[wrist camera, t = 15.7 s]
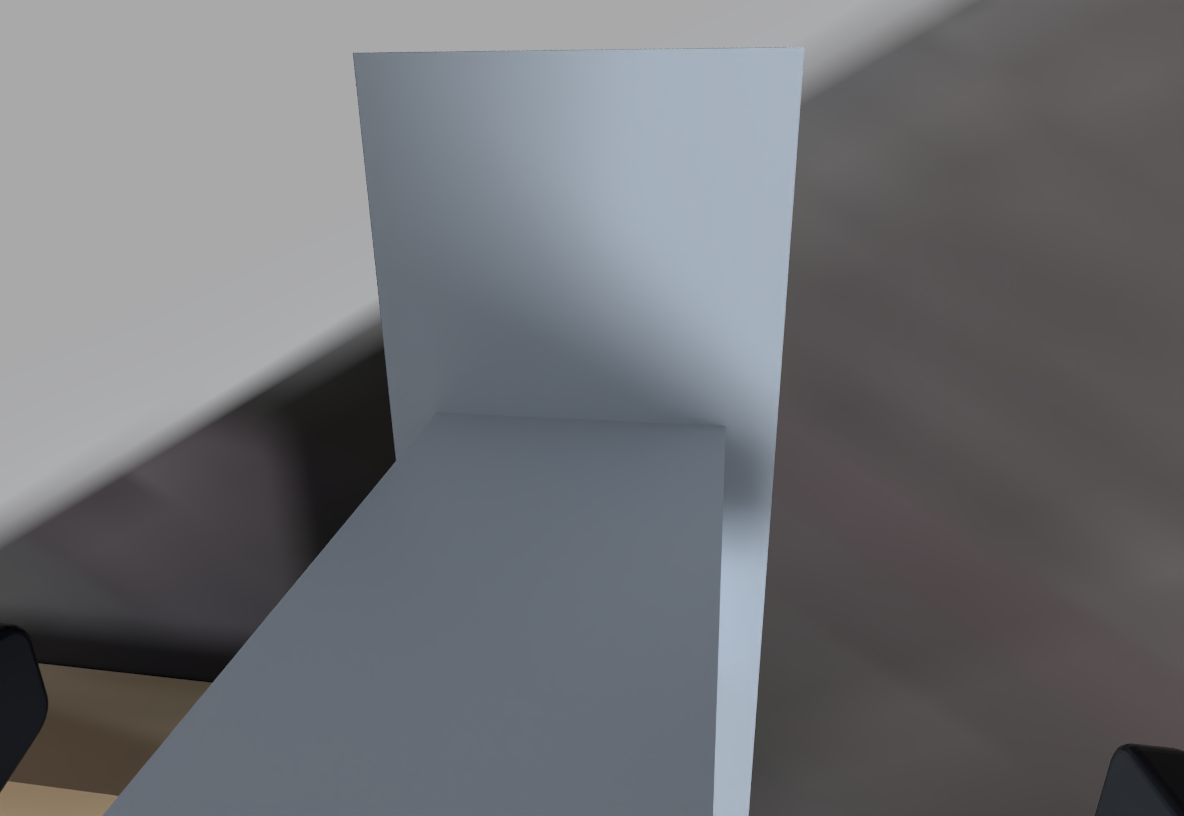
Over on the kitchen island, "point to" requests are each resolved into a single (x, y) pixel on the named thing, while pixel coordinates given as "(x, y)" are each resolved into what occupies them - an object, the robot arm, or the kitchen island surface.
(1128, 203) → the kitchen island surface
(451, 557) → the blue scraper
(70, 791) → the oak corral
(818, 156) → the kitchen island surface
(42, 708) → the robot arm
